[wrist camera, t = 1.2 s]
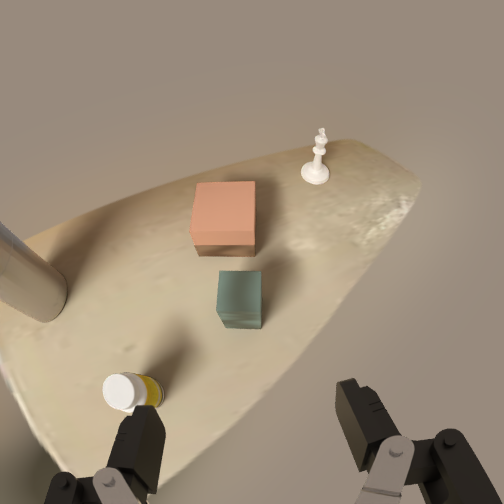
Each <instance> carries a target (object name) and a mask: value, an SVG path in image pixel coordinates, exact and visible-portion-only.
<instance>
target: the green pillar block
mask: <svg viewBox="0 0 504 504" xmlns="http://www.w3.org/2000/svg"><path fill="white" fill-rule="evenodd" d="M216 311H217V313H218V315H219V317H220V318H221V320H222V322H223V324H224V325H225V327H226V328H237V329H261V318H262V280H261V271H219V282H218V294H217V307H216Z"/></svg>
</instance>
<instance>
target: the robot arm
mask: <svg viewBox="0 0 504 504" xmlns="http://www.w3.org/2000/svg"><path fill="white" fill-rule="evenodd" d="M66 297H67V284H66V281H65V278H64V277H63V275H62V274H60V273H59V272H58V271H57V270H55V269H54V268H53V267H52V266H50V265H49V264H48V263H47V262H46V261H44V260H43V259H42V258H41V257H40V256H38V255H37V254H36V253H35V252H34V251H32V250H31V249H30V248H29V247H28V246H27V245H26V244H24V243H23V242H22V241H21V240H20V239H19V238H18V237H17V236H15V235H14V234H13V233H12V232H11V231H10V230H9V229H8V228H6V227H5V226H4V225H3V224H2V223H1V222H0V301H2V302H4V303H6V304H8V305H9V306H11V307H13V308H15V309H17V310H18V311H20V312H22V313H24V314H26V315H28V316H30V317H32V318H34V319H36V320H38V321H40V322H49V321H51V320H53V319H54V318H55V317H56V316H57V315H58V314H59V313H60V312H61V310H62V308H63V306H64V304H65V301H66ZM336 386H337V387H336V402H335V408H336V414H337V417H338V420H339V422H340V424H341V427H342V429H343V432H344V435H345V437H346V439H347V442H348V445H349V447H350V450H351V452H352V455H353V457H354V460H355V462H356V465H357V467H358V470H359V472H362V471H365V470H367V472H368V474H369V475H368V477H367V480H366V482H365V484H364V486H363V488H362V490H361V492H360V494H359V496H358V498H357V500H356V502H355V504H399V503H400V500H401V492H402V489H403V486H404V485H412V484H418V486H419V488H420V490H421V493H422V495H423V498H424V500H425V503H426V504H502V502H501V500H500V498H499V496H498V494H497V492H496V490H495V488H494V487H493V485H492V483H491V481H490V479H489V478H488V476H487V474H486V472H485V470H484V469H483V467H482V465H481V464H480V462H479V460H478V458H477V457H476V455H475V454H474V452H473V450H472V448H471V447H470V445H469V443H468V442H467V440H466V439H465V437H464V435H463V434H462V433H461V432H460V431H458V430H456V429H445V430H442V431H441V432H439V433H438V434H437V435H436V437H435V438H434V439H427V440H420V441H413V440H410V439H409V438H407V437H405V436H402V435H401V434H400V433H399V431H398V429H397V428H396V426H395V424H394V423H393V421H392V419H391V417H390V416H389V414H388V412H387V410H386V409H385V407H384V405H383V403H382V402H381V400H380V398H379V397H378V395H377V393H376V392H375V391H373V390H372V389H371V388H369V387H368V386H366V387H362V388H360V387H359V385H358V383H357V381H356V380H355V379H354V378H352V379H348V380H344V381H340V382H337V385H336ZM165 438H166V432H165V427H164V425H163V423H162V421H161V419H160V417H159V415H158V413H157V411H156V409H155V407H154V406H153V405H136V406H135V408H134V411H133V414H132V416H127V417H126V418H125V419H124V420H123V421H122V422H121V424H120V426H119V429H118V434H117V435H116V438H115V441H114V444H113V447H112V451H111V454H110V457H109V460H108V463H107V466H106V468H103V469H100V470H99V471H97V472H96V474H95V475H94V476H93V477H86V478H76V477H75V476H73V475H72V474H71V473H69V472H60V473H58V474H56V475H55V476H54V477H53V479H52V480H51V484H50V487H49V490H48V493H47V496H46V499H45V503H44V504H149V502H148V501H147V494H156V492H157V486H158V479H159V473H160V467H161V461H162V455H163V450H164V444H165Z"/></svg>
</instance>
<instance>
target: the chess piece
mask: <svg viewBox="0 0 504 504" xmlns="http://www.w3.org/2000/svg"><path fill="white" fill-rule="evenodd" d="M318 131H319V133H320V135H317V136H316V137H315V142H316V146H314V147H313V152H314V153H315V157H314V160H313V161H312V162H308V163H306V164H304V165H303V167H302V170H301V175H302V177H303V179H304V180H306V181H307V182H309V183H312V184H323V183H325V182H326V181H327V180H328V179H329V170H328V168H327V167H326V166H325V165H324V164H322V163H321V161H322V155H324V154H325V153H326V149H325V148H324V146H325V144H326V143H327V141H328V139H327V138H326V135H325V133H324V131H325V129H324V128H321V129H319V130H318Z"/></svg>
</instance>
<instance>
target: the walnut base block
mask: <svg viewBox="0 0 504 504" xmlns="http://www.w3.org/2000/svg"><path fill="white" fill-rule="evenodd" d="M255 237H256V201H255ZM194 246H195V248H196V250H197V253H198V255H199V256H227V257H255V245H194Z"/></svg>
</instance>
